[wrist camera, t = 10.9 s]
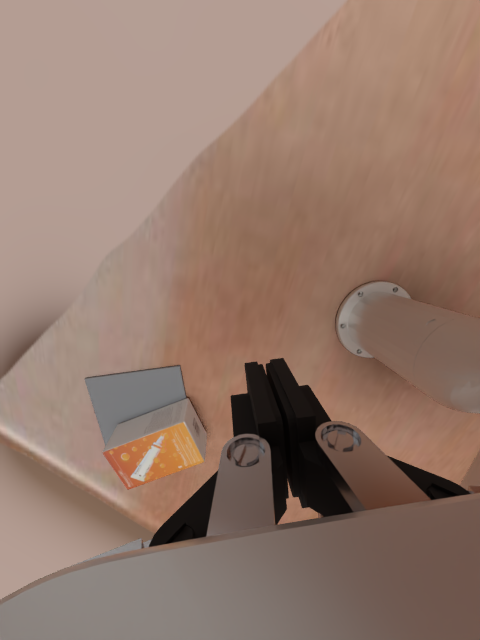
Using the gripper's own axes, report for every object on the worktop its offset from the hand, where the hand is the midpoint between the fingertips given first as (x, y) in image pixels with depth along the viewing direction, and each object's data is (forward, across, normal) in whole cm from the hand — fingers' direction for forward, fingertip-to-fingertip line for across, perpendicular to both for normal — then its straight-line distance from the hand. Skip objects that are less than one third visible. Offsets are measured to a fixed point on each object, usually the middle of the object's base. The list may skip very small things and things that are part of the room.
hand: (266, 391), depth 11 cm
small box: (+26, +8, +21) cm, 34 cm away
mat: (+29, +18, +20) cm, 39 cm away
